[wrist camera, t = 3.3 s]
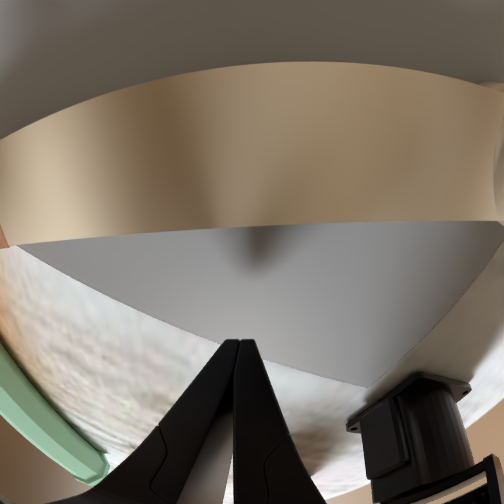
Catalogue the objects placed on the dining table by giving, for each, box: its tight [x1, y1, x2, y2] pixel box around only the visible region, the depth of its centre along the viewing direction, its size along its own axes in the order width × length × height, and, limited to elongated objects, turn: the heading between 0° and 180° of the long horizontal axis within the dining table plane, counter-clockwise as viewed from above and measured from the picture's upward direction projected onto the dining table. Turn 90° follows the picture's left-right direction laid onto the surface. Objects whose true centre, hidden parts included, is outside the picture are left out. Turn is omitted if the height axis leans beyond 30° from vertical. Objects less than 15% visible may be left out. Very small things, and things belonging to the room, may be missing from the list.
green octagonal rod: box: [0, 342, 110, 486], centre depth 18 cm, size 6×6×25 cm
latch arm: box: [0, 62, 504, 249], centre depth 5 cm, size 19×4×3 cm, turn 96°
